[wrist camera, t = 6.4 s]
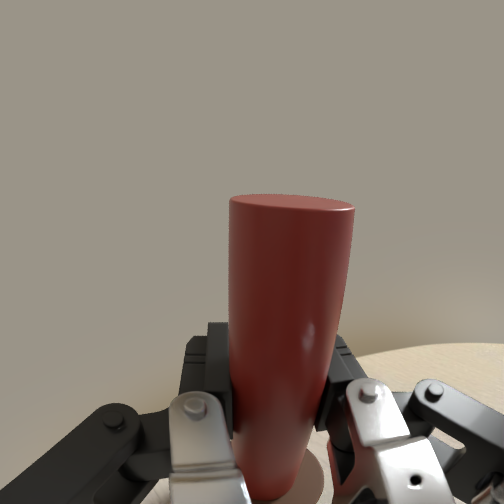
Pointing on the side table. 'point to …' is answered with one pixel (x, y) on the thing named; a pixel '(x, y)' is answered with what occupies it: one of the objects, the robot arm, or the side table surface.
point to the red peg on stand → (283, 334)
